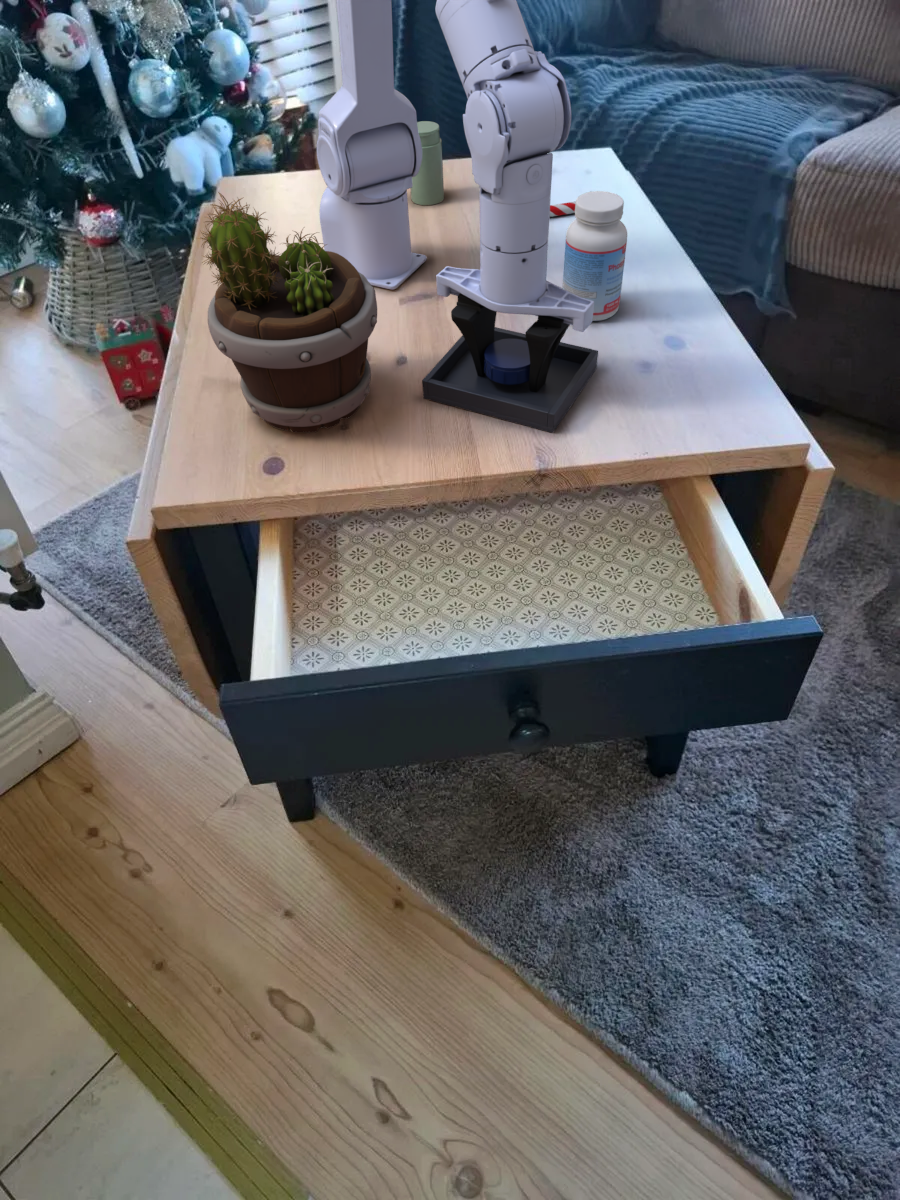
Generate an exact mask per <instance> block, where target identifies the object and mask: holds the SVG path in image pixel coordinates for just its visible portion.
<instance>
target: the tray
mask: <svg viewBox="0 0 900 1200" xmlns="http://www.w3.org/2000/svg"><path fill="white" fill-rule="evenodd" d="M525 335H526V333H524V332H519V331H514V330H510V329H505V328H501V327H496V326H495V330H494V342H495V341H498V340H502V339H520V340H524V341H527V339H526V336H525ZM598 358H599V350H597V349H592V348H589V347H583V346H580V345H576V344H571V343H566V342H562V341H560V343H559V345H558V347H557V349H556V351H555V354H554V356H553V358H552V361H551V364H550V367H549V370H548V374H547V378H546V382H545V384H544V385H543V386H542V387H541V388H540V390H539V391H538V392H532V391H530V388H529V381H527V382H525V383H521V384H515V385H506V384H500V383H497V382H495V381H493V380H491V379H489V378H488V377H487V375H485V376H484V377H480V376H478V375H477V372H476V368H475V365H474V361H473V358H472V355H471V352H470V350H469V347H468V345H467V343H466V340H465V338H464V337H463V335H462V334H461V336H460V337H459V338H458V339H457V340H456V342H455V343H454V344H453V345H452V347H450V348H449V350H448V351H447V352H446V353H445V354H443V356H442V357H441V358H440V360H439V361H438V362H436V364H435V365H434V366H433V368H432V369H431V370H430V371H429V372H428V373H427V374H426V375H425V377H423V378H422V380H421V385H422V387H421V388H422V398H423V399H425V400H429V401H432V402H436V403H440V404H443V405H446V406H451V407H455V408H457V409H458V408H459V409H462V410H466V411H469V412H474V413H477V414H481V415H485V416H489V417H492V418H496V419H499V420H503V421H506V422H511V423H515V424H518V425H522V426H526V427H530V428H533V429H537V430H541V431H544V432H549V433H554V432H555V431H556V430H557V428H558V426H559V425H560V424H561V422H562V420H563V419H565V416H566V415H567V413H568V412H569V410H570V409H571V407H572V406H573V405H574V403H575V401H576V400H577V398H578V397H579V395H580V394H581V392H582V391H583V390H584V389H585V387H586V385H587V383H588V382H589V381H590V379H591V378H592V376H593V375H594V373H595V372H596V370H597V368H598Z"/></svg>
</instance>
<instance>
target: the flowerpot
mask: <svg viewBox="0 0 900 1200" xmlns="http://www.w3.org/2000/svg"><path fill="white" fill-rule="evenodd" d="M218 195H219V197H220V198H221V200H222V201H221V200H220V199H219V198H217V200H218V201H219V204H220V205H218V204H213V203H211V206H212V208H213V209H214V210H213V211H212V213H207V215H208V217H207V216H205V218H207V219H208V220H206V221H203V223H204V227H205V229H206V231H203V230H200V233H201V235H202V237H201V236H200V238H198V237H196V239H198V240H202V241H203V242H202V244H201V246H200V247H201V248H202V249H204V247H205V244H208V245H207V246H206V249H208V252H206V253H205V254H204V255H202V257H203V258H206V259H205V260H203V261H202V262H201V264H203V265H205V264H206V266H207V265H208V266H209V269H210V270H213V267H215V270H216V271H217V272H216V274H215V273H214V272H212V274H213V275H212V274H211V277H213V278H214V279H216V280H214V281H211V282H210V283H213V286H214V285H217V289H216V290H215V293H214V296H213V297H212V298H211V300H210V302H209V304H208V308H207V325H208V330H209V334H210V336H211V339H212V341H213V343H214V345H215V347H216V348H217V349H218V350H219V351H220V353H222V354H223V356H225V357H227V358H228V359H231V362H232V363H233V366H234V367H235V369H236V370H237V372H238V374H239V375H240V390H241V393H242V396H243V397H244V399H245V401H246V403H247V404H248V406H249V408H250V409H251V411H252V413H253V414H254V415H257V416H258V417H259V418H261V419H262V420H263V421H264V422H265V423H266V424H267V425H269V426H271V427H273V428H275V429H278V430H280V431H281V430H282V431H290V432H292V433H295V434H296V433H301V434H302V433H317V432H318V431H319V429H322V428H325V429H330V428H333V427H335V426H337V425H339V424H340V422H341V421H342V420H347V419H349V418H351V417H352V416H354V415H355V414H356V413H357V411H358V410H359V408H360V407H361V405H362V403H363V402H364V401H365V399H366V397H367V396H368V394H370V391H371V389H370V385H371V380H372V379H371V378H372V377H371V376H372V368H371V365H370V362H369V360H368V358H367V355H368V347H369V339H370V337H371V335H372V333H373V332H374V330H375V327H376V325H377V323H378V302H377V295H376V290H375V288H374V286H373V285H371V284H370V283H369V282H368V280H367V279H366V278H365V276H364V275H363V274H361V273H359V272H358V271H357V270H356V268H355V267H354V266H353V265H352V264H351V263H350V262H349V261H348V260H347V259H345V258H344V257H343V256H341V255H339V254H337V253H334V252H330V251H325V250H324V244H323V242H319V241H318V239H317V237H316V236H315V234H320V232H318V231H317V232H314V233H307V234H305V235H304V236H302V234H303V231H304V228H305V227H303V228H302V229H301V230H300V232H298V231H295V230H293V232H294V233H296V234H294V237H293V241H292V242H291V243H290V242H289V237H290V235H287V237H286V238H285V241H286V242H281V243H280V245H281V244H282V245H285V246H286V249H285V250H284V251H283V252H281V253H280V252H279V251H278V252H277V253H276V248H277V247H276V246H274V247H275V248H274V251H273V249H271V248H268V243H269V245H271V244H272V245H274V243H275V240H273V239H272V238H274V237H277V235H276V234H275V232H273V233H270V232H271V230H272V227H269V226H267V229H266V228H264V227H263V226H264V225H263V222H262V221H261V220H264V221H265V220H266V221H268V219H267V218H263V217H261V216H262V215H264V214H266V211H264V212H262V213H261V214H260V213H259V211H257V210H256V209H255V208H254V206H253V207H252V208H253V211H254V212H255V213H254V212H252V213H251V214H249V213H248V212H249V211H248V210H249V209H250V206H251V204H248V203H247V202H246V204H245V205H243V206H242V205H241V202H240V201H241V200H242V199H244V197H241V198H239V197H238V196H236V198H237V200H236V201H235V199H233V201H231V202H230V203H229V202H228V201H227V199H226V197H225V196H224V195H223V194H222V193H220V192H219V191H218ZM237 203H238V204H237ZM245 209H246V210H245ZM214 211H215V213H214ZM210 215H211V216H210ZM259 222H260V223H259ZM205 223H208V224H205ZM208 225H209V227H207V226H208ZM261 227H263V228H264V230H263V228H261ZM269 228H270V229H269ZM207 232H208V233H207ZM309 235H310V236H309ZM307 238H308V239H307ZM295 239H297V242H295ZM204 240H205V241H204ZM313 240H314V241H313ZM270 242H271V243H270ZM321 245H322V246H321ZM326 245H327V244H326ZM269 249H270V250H269ZM209 250H211V253H210V251H209ZM272 252H273V253H272ZM212 266H213V267H212ZM218 272H219V273H218Z"/></svg>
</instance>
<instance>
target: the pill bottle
mask: <svg viewBox="0 0 900 1200" xmlns="http://www.w3.org/2000/svg"><path fill="white" fill-rule="evenodd" d="M575 201H576V205H575V213H574V217H575V219H574V220H573V221H572V222H570V224H569V225H568V227H567V229H566V231H565V232H566V233H565V241H564V242H565V243H564V256H563V268H562V269H563V271H562V284H561V288H563V289H565V290H567V291H569V292H571V293H573V294H575V295H577V296H579V297H581V298H584V299H587V300H591V301H594V310H593V320H592V322H598V321H605V320H607V319H610V318H612V317H613V316H614V315H615V314H616V313H617V312H618V310H619V308H620V303H621V297H622V296H621V294H622V286H623V278H624V270H625V263H626V262H625V261H626V253H627V246H628V245H627V244H628V229H627V227H626V225H625V224H624V223H623V221H622V218H623V215H624V206H625V205H624V204H625V201H624V199H623V197H622V196H620V195H619V194H617V193H615V192H610V191H605V190H603V191H602V190H594V191H588V192H584V193H582V194H580V195H578V196H577V198H576V199H575Z"/></svg>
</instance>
